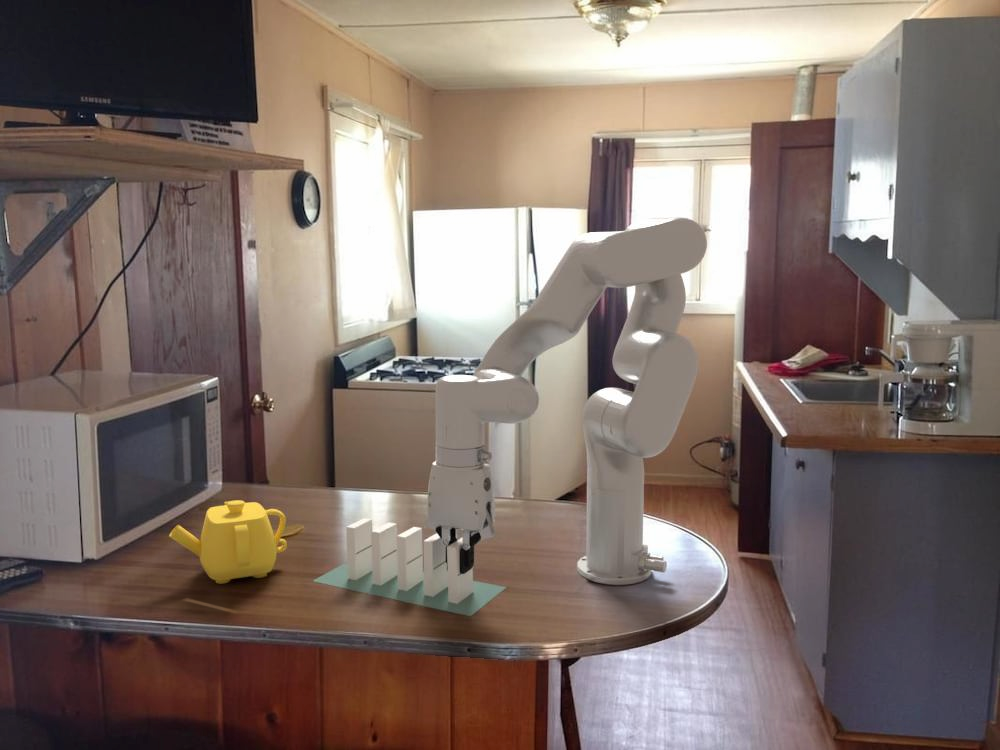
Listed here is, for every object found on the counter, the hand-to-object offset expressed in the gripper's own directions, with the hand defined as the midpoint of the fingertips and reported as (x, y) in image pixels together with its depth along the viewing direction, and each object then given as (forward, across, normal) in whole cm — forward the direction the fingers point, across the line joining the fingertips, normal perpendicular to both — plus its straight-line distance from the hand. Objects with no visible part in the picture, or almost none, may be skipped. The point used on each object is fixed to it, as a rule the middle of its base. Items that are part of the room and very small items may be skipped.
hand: (459, 568), depth 135 cm
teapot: (+6, +40, +8) cm, 41 cm away
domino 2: (+5, +14, -1) cm, 15 cm away
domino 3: (+5, +10, -1) cm, 11 cm away
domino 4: (+5, +5, -1) cm, 7 cm away
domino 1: (+5, +20, -1) cm, 20 cm away
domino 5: (+5, 0, 0) cm, 5 cm away
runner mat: (+5, +10, -1) cm, 11 cm away
